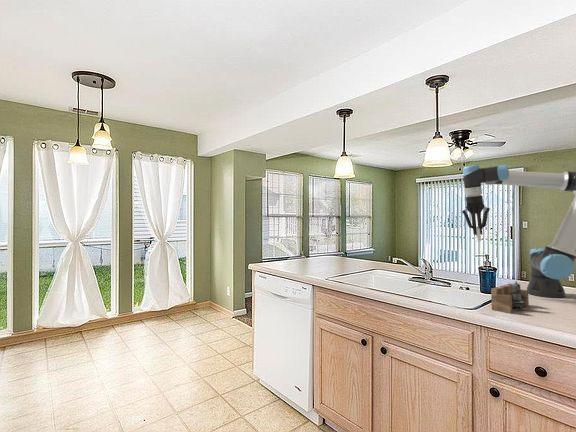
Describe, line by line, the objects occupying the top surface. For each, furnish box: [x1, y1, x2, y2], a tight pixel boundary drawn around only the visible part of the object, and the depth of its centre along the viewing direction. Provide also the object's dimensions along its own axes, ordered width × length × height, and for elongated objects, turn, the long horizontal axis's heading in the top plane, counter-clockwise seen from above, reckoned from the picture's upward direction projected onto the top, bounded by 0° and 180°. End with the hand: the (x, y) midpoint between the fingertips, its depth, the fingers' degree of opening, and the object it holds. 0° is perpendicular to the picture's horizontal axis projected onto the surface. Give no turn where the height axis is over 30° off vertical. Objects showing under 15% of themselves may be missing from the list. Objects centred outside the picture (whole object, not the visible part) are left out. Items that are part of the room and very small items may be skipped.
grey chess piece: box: [511, 280, 525, 312], centre depth 138 cm, size 6×6×12 cm
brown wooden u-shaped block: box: [490, 283, 530, 314], centre depth 139 cm, size 18×7×9 cm, turn 123°
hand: (478, 240), depth 166 cm, fingers closed
